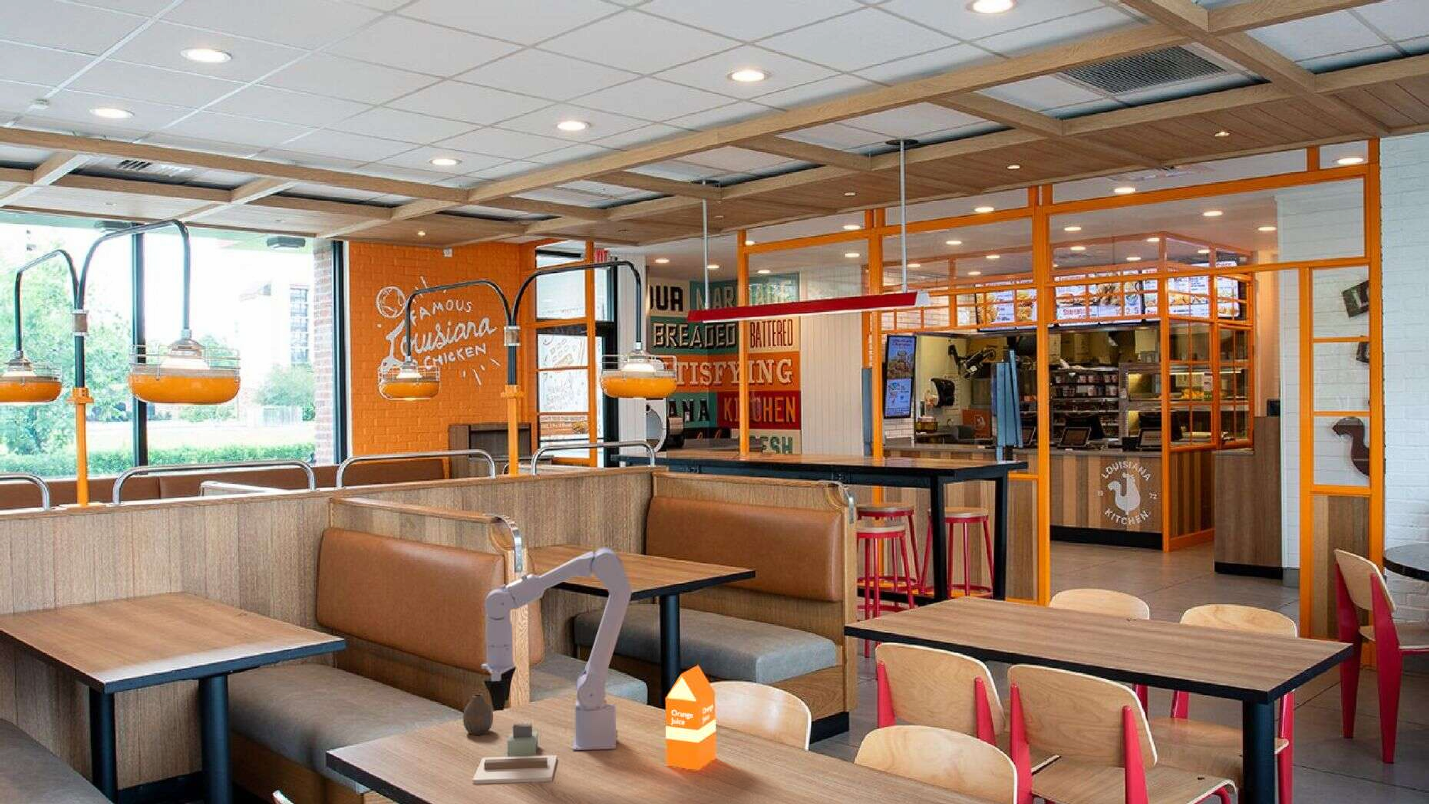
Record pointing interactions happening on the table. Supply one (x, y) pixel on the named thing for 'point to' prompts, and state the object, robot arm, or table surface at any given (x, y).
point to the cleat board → (515, 769)
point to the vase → (478, 715)
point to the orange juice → (690, 721)
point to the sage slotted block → (522, 741)
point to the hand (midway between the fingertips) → (501, 705)
